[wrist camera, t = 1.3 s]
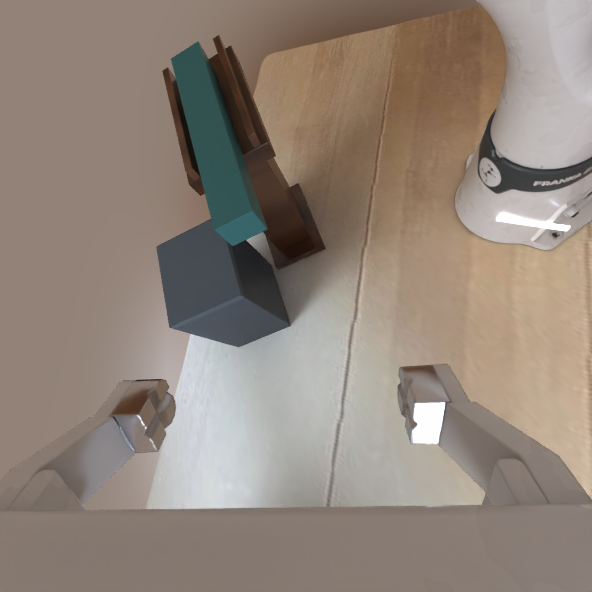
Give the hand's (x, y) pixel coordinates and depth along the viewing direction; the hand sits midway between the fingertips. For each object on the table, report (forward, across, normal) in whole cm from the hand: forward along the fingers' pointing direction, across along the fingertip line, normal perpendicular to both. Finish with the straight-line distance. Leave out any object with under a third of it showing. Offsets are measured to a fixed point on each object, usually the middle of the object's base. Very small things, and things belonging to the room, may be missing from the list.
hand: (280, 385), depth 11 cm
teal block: (+26, +7, -7) cm, 28 cm away
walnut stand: (+48, +4, +8) cm, 49 cm away
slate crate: (+39, +10, +19) cm, 44 cm away
